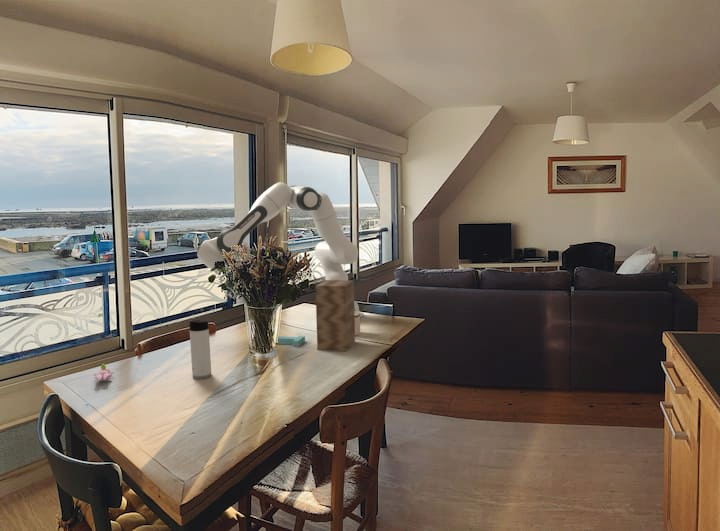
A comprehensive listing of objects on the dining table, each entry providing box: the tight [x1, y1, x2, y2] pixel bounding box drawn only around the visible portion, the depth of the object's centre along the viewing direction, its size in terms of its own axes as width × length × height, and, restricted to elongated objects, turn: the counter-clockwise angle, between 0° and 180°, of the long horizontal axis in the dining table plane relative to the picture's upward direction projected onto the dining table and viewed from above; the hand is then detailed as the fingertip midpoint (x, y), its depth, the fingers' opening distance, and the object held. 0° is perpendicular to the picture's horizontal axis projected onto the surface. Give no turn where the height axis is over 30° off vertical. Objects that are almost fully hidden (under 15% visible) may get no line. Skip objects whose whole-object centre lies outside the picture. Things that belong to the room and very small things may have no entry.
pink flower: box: [93, 363, 115, 382], centre depth 174 cm, size 6×6×15 cm
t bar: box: [277, 335, 306, 348], centre depth 216 cm, size 18×8×2 cm, turn 77°
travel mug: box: [188, 319, 212, 380], centre depth 176 cm, size 6×7×20 cm
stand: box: [315, 279, 356, 352], centre depth 209 cm, size 12×14×26 cm
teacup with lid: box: [354, 310, 361, 336], centre depth 228 cm, size 12×9×12 cm
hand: (252, 293), depth 223 cm, fingers open, 8 cm apart
